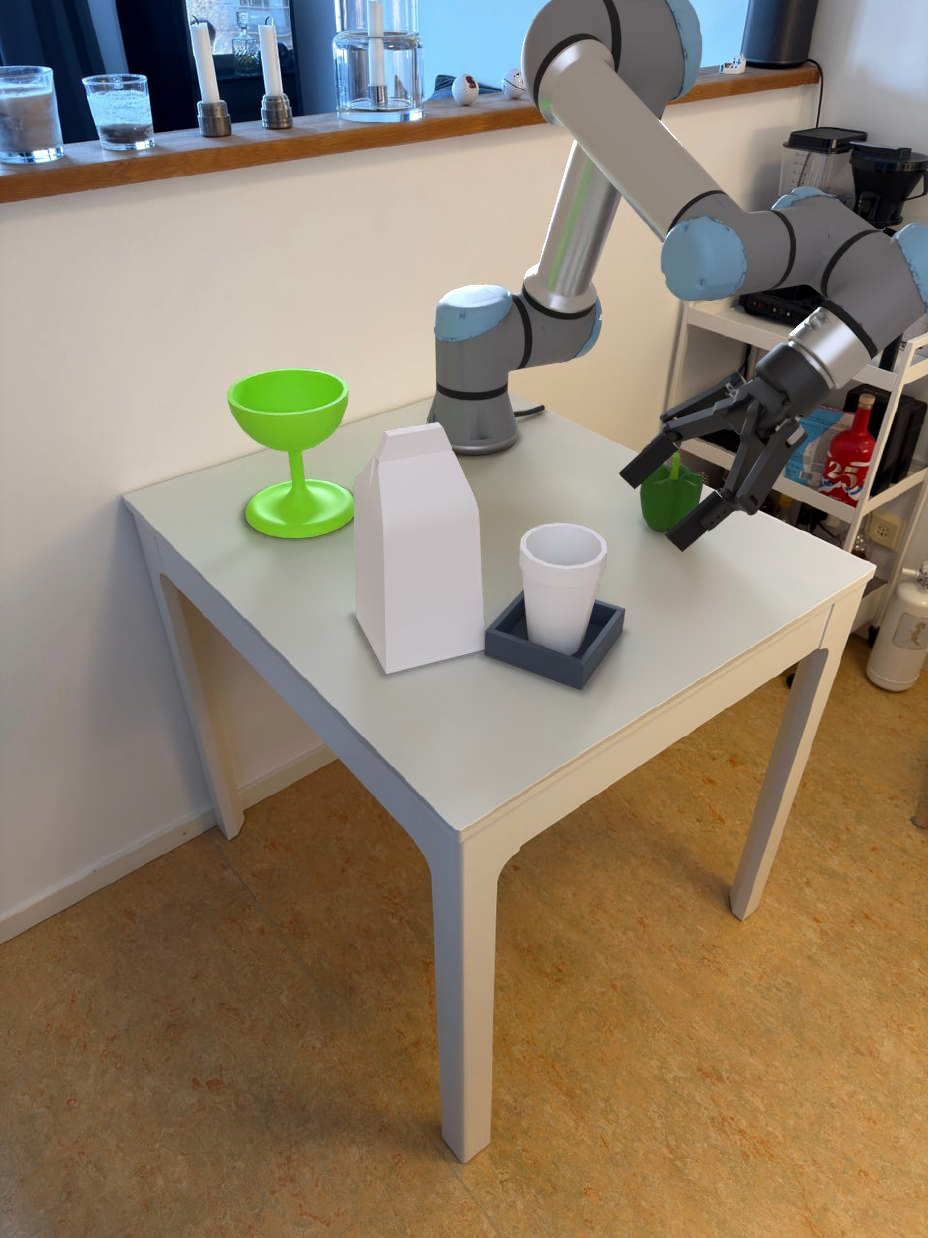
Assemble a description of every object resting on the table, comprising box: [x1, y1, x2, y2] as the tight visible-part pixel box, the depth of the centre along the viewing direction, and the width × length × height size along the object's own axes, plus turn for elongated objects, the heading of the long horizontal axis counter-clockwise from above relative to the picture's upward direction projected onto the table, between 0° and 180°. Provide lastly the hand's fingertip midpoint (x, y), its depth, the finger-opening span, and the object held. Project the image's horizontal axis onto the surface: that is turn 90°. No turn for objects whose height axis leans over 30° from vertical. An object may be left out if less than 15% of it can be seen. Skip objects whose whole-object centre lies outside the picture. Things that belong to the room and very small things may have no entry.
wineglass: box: [226, 367, 354, 539], centre depth 124 cm, size 16×16×18 cm
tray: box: [484, 588, 626, 691], centre depth 104 cm, size 12×12×4 cm
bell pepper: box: [639, 452, 704, 532], centre depth 124 cm, size 8×8×10 cm
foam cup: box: [519, 522, 608, 655], centre depth 101 cm, size 10×9×13 cm
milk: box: [353, 422, 485, 675], centre depth 98 cm, size 12×12×26 cm
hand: (648, 511), depth 97 cm, fingers open, 13 cm apart
